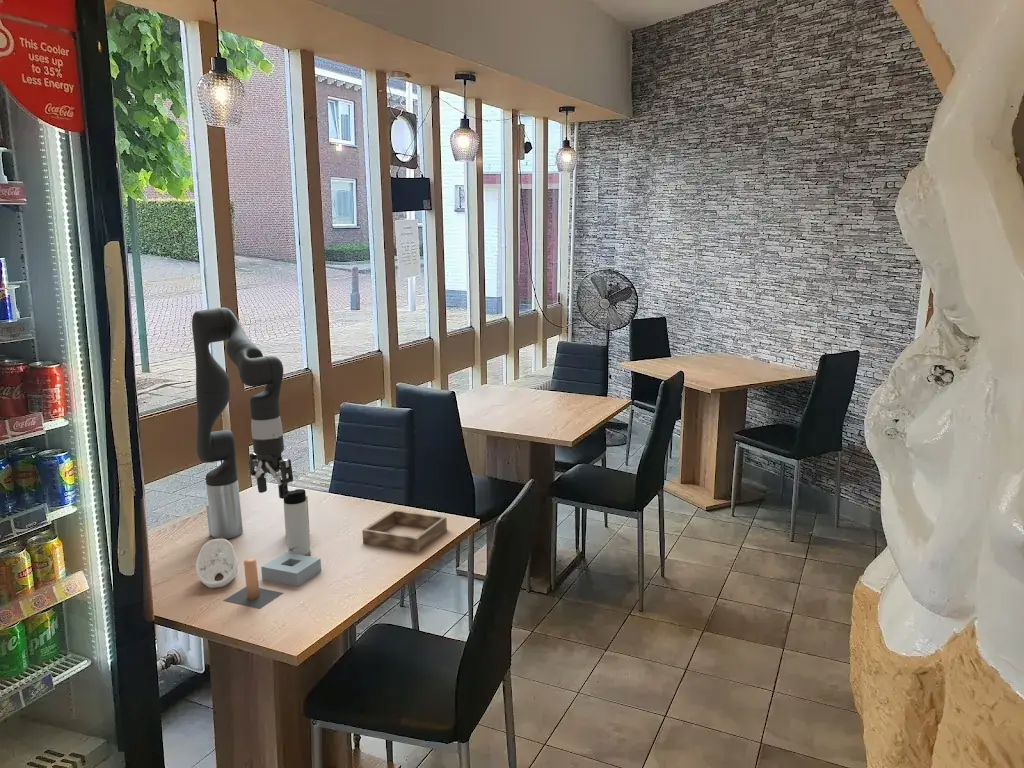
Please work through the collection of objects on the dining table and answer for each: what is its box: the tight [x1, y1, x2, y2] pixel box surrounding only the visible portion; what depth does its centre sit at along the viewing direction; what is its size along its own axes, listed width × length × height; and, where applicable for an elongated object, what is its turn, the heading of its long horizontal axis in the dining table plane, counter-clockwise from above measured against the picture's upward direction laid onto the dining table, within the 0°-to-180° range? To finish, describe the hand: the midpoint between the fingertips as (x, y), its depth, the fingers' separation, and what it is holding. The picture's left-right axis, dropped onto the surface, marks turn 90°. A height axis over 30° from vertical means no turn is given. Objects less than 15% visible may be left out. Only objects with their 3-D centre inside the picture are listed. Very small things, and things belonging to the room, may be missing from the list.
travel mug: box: [283, 488, 312, 556], centre depth 222 cm, size 6×7×20 cm
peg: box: [243, 557, 260, 600], centre depth 197 cm, size 3×3×10 cm
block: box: [260, 551, 322, 587], centre depth 210 cm, size 12×10×4 cm
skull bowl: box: [195, 538, 239, 589], centre depth 209 cm, size 10×14×12 cm
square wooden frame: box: [361, 509, 448, 553], centre depth 235 cm, size 19×18×4 cm
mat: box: [222, 586, 284, 610], centre depth 198 cm, size 12×9×1 cm
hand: (273, 494), depth 199 cm, fingers open, 8 cm apart
